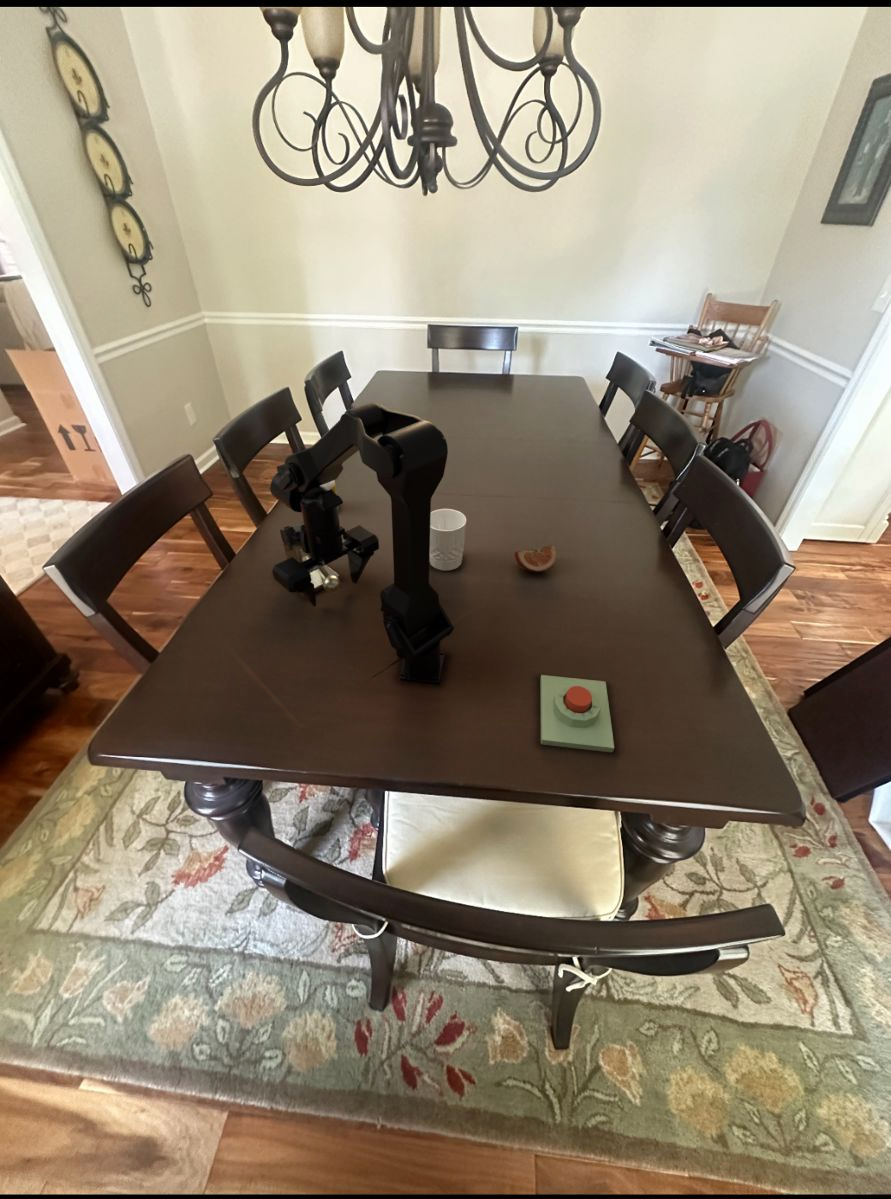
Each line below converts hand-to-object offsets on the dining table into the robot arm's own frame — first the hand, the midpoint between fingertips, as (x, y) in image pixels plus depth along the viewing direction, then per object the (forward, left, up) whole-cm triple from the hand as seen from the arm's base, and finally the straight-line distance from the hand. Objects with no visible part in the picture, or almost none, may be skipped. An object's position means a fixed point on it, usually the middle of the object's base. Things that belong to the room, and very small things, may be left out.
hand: (334, 593), depth 95 cm
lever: (+3, +4, +3) cm, 6 cm away
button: (-20, -43, +1) cm, 48 cm away
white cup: (+15, -19, -2) cm, 24 cm away
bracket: (+6, +7, -1) cm, 9 cm away
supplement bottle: (+31, +11, -2) cm, 33 cm away
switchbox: (-20, -43, -1) cm, 48 cm away
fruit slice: (+15, -37, -2) cm, 40 cm away
